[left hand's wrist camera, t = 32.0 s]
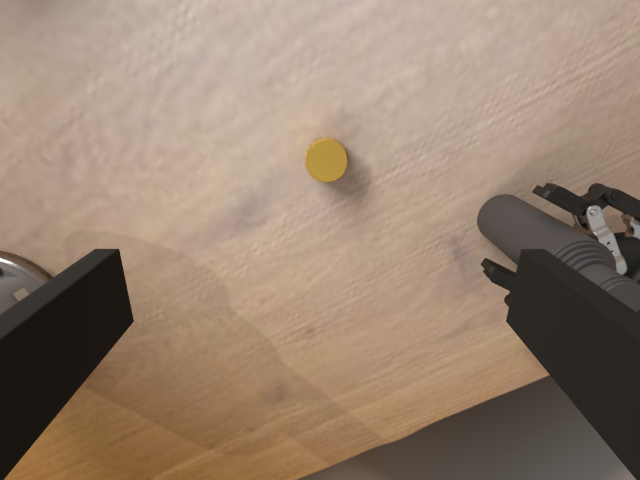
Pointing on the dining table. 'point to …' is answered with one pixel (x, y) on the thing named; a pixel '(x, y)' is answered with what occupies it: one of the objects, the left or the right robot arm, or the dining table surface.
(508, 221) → the bottle
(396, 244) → the dining table surface
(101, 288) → the left robot arm
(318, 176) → the cap
